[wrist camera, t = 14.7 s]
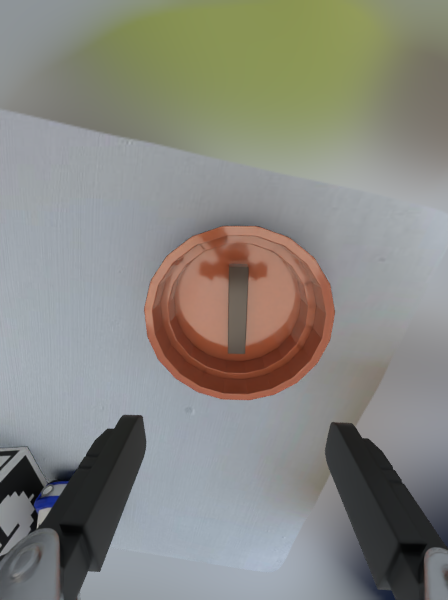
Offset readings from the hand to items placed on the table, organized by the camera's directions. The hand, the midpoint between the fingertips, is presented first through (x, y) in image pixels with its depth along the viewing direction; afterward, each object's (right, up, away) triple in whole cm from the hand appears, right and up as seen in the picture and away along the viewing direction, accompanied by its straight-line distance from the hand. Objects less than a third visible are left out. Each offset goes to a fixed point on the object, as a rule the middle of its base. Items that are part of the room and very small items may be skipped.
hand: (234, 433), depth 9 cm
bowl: (+1, +5, +16) cm, 17 cm away
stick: (+1, +5, +16) cm, 17 cm away
